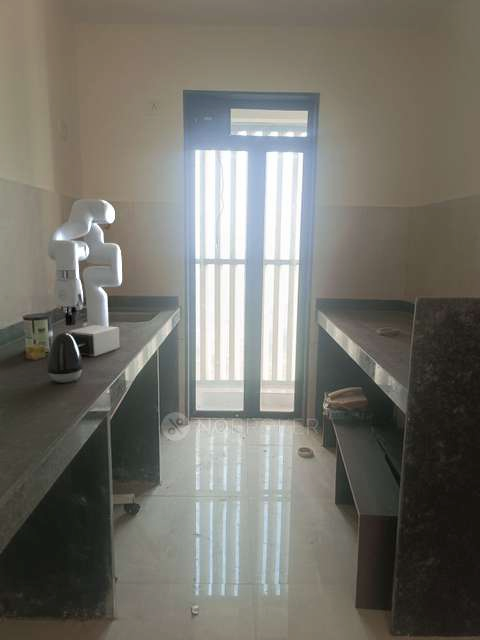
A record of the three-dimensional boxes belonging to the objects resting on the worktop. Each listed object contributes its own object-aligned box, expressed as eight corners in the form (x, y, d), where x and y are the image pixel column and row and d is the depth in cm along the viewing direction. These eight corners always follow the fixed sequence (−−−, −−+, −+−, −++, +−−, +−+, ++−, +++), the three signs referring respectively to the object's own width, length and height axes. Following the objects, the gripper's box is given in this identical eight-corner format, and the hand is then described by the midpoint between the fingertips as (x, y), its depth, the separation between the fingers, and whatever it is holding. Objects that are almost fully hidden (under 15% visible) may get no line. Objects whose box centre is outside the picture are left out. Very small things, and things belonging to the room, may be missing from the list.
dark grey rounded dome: (90, 377, 133) (88, 330, 130) (67, 387, 124) (64, 337, 121) (65, 373, 136) (62, 328, 134) (40, 383, 127) (36, 334, 124)
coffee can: (41, 345, 173) (39, 312, 170) (59, 348, 169) (57, 314, 166) (19, 351, 164) (16, 316, 161) (38, 354, 159) (35, 318, 157)
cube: (26, 358, 154) (25, 346, 153) (36, 355, 158) (35, 344, 157) (35, 359, 152) (34, 347, 151) (45, 356, 156) (44, 345, 155)
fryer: (94, 356, 158) (93, 334, 156) (69, 352, 162) (67, 331, 161) (119, 347, 171) (118, 327, 169) (95, 344, 176) (94, 324, 174)
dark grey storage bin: (78, 358, 151) (77, 340, 150) (55, 355, 155) (54, 337, 154) (113, 347, 169) (113, 330, 167) (91, 344, 173) (90, 328, 172)
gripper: (44, 275, 150) (47, 325, 153) (75, 276, 144) (78, 328, 147) (60, 274, 157) (63, 321, 160) (91, 275, 151) (93, 324, 154)
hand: (70, 324), depth 154 cm, fingers closed
